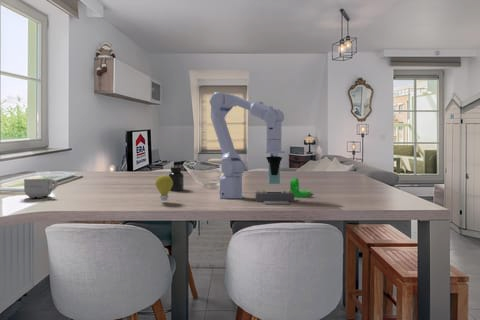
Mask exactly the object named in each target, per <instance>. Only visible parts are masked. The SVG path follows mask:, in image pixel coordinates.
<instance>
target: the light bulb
mask: <svg viewBox="0 0 480 320" xmlns="http://www.w3.org/2000/svg"><path fill="white" fill-rule="evenodd" d="M172 185H173V181H172V179H171V177H169V175H168V174H162V175H159V176H158V177H157V178H156V180H155V186H156V188H157V191H158V192H159V193H160V195H159V198H161V199H160V200H161V202H162V201H163V202H166V201H168V198H169V192H171V191H170V189H171V187H172Z"/></svg>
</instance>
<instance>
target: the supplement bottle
mask: <svg viewBox="0 0 480 320" xmlns="http://www.w3.org/2000/svg"><path fill="white" fill-rule="evenodd" d="M182 171H183V170H182V167H181V166H175V167H174V166H171V167H170V173H169V174H168V176H169V177H171V179H172V181H173V185H172V187H171V189H170V191H169V192H182V191H184V184H185V181H184V179H185V178H184V177H185V176H184V173H183V172H182Z"/></svg>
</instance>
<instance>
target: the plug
mask: <svg viewBox="0 0 480 320" xmlns="http://www.w3.org/2000/svg"><path fill="white" fill-rule="evenodd" d="M267 165H268V184H270V185H275V184H277V185H280V183H281V182H280V181H281V179H280V177H281V173H280V172H281V164H280V165H279V170H278V174H277V175H272V174H271V168H270V163H268V162H267Z"/></svg>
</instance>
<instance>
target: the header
mask: <svg viewBox="0 0 480 320" xmlns="http://www.w3.org/2000/svg"><path fill="white" fill-rule="evenodd" d="M254 192H255V194H254V196H255V197H254V198H255V202H256V203H257V202H259V203H260V202H261V203H262V202H263V201H288V202H289V203H291V202H295V197H294V193H292V191H291V190H290V189H288V191H287V190H285V189H282V191H266V190H264V189H263V190H262V191H260V190H259V189H256V191H254ZM263 203H264V202H263Z"/></svg>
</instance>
